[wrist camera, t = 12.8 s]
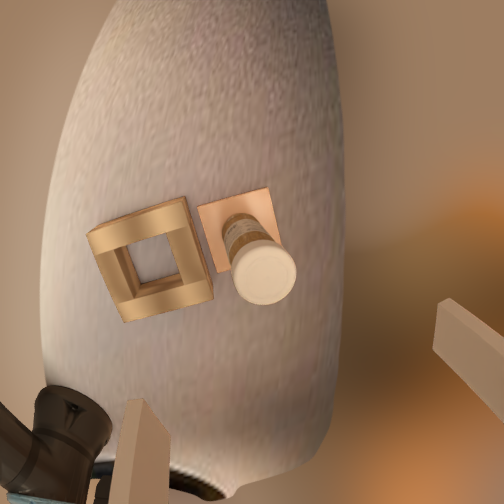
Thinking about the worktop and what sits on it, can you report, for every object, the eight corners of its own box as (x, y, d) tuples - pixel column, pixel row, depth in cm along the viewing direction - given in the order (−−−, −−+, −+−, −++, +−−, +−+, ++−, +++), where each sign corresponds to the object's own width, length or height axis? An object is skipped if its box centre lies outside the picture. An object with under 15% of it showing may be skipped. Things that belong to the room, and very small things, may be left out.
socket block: (131, 306, 35) (124, 322, 31) (98, 225, 31) (85, 234, 28) (212, 284, 36) (213, 299, 32) (184, 196, 32) (181, 201, 28)
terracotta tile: (217, 270, 35) (217, 273, 35) (197, 206, 33) (197, 207, 32) (281, 252, 36) (283, 254, 35) (266, 186, 33) (268, 187, 32)
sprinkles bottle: (240, 259, 34) (264, 318, 22) (212, 232, 33) (219, 279, 20) (269, 231, 34) (310, 276, 21) (242, 202, 32) (269, 232, 20)
